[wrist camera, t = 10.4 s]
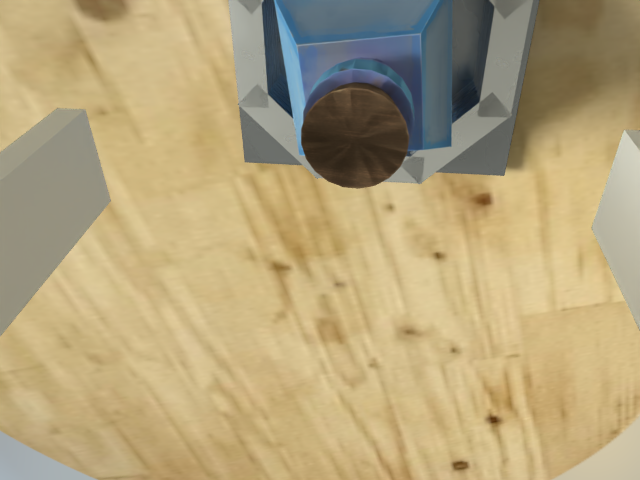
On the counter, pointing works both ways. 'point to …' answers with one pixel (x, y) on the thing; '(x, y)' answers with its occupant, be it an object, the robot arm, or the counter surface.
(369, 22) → the perfume bottle
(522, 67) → the flange
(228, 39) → the counter surface
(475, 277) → the counter surface
